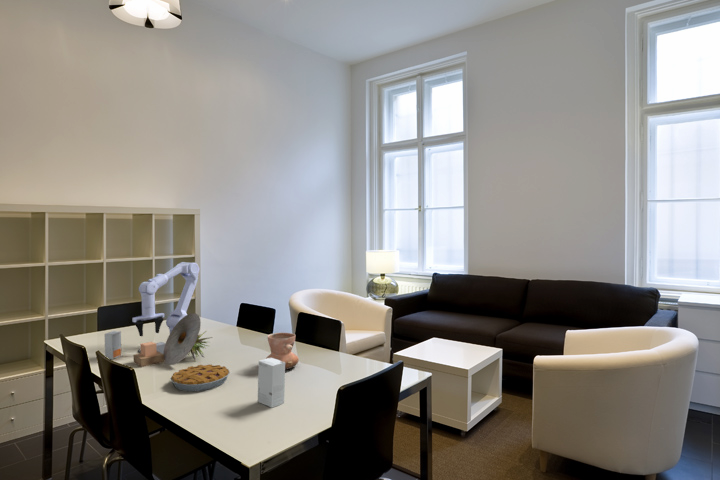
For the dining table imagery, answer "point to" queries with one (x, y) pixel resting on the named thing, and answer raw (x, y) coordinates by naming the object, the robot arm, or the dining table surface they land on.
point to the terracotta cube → (148, 349)
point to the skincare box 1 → (113, 344)
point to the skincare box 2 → (271, 382)
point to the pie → (200, 377)
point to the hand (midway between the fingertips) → (149, 334)
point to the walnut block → (148, 359)
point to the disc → (184, 340)
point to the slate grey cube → (160, 347)
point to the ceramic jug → (283, 348)
